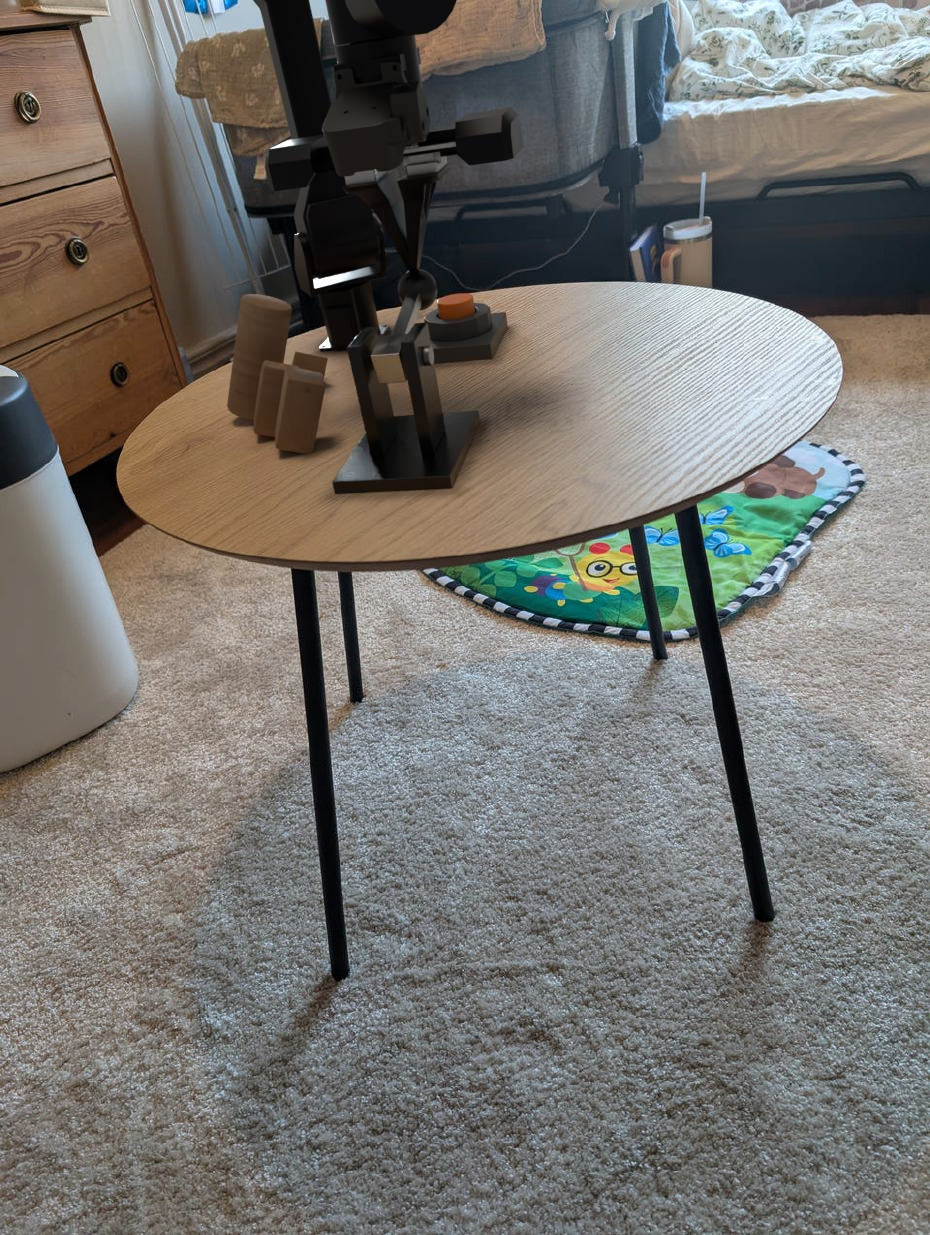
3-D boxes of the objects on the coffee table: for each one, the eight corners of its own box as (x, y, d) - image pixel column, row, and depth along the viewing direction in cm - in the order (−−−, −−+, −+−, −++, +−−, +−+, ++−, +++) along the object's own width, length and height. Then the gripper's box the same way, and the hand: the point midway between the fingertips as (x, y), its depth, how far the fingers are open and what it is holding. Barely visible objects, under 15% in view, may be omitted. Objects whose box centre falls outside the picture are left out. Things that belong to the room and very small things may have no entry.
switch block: (434, 334, 96) (429, 301, 94) (508, 328, 94) (503, 294, 92) (413, 367, 88) (406, 332, 86) (492, 361, 86) (487, 325, 84)
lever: (406, 300, 75) (397, 263, 73) (443, 296, 74) (435, 259, 72) (373, 389, 67) (361, 351, 64) (414, 386, 66) (404, 348, 63)
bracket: (377, 430, 76) (352, 314, 71) (480, 423, 74) (463, 303, 69) (335, 496, 67) (302, 369, 61) (452, 491, 65) (429, 358, 59)
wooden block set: (330, 477, 75) (354, 359, 70) (224, 460, 73) (241, 336, 67) (316, 397, 90) (335, 294, 84) (227, 381, 87) (241, 274, 82)
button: (443, 312, 91) (441, 295, 90) (478, 309, 91) (475, 291, 90) (436, 323, 89) (433, 305, 88) (471, 320, 88) (469, 302, 87)
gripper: (206, 71, 59) (270, 311, 67) (484, 24, 54) (514, 287, 63) (267, 57, 67) (317, 270, 76) (511, 15, 63) (533, 247, 72)
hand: (413, 269), depth 72 cm, fingers closed, pressing on lever
